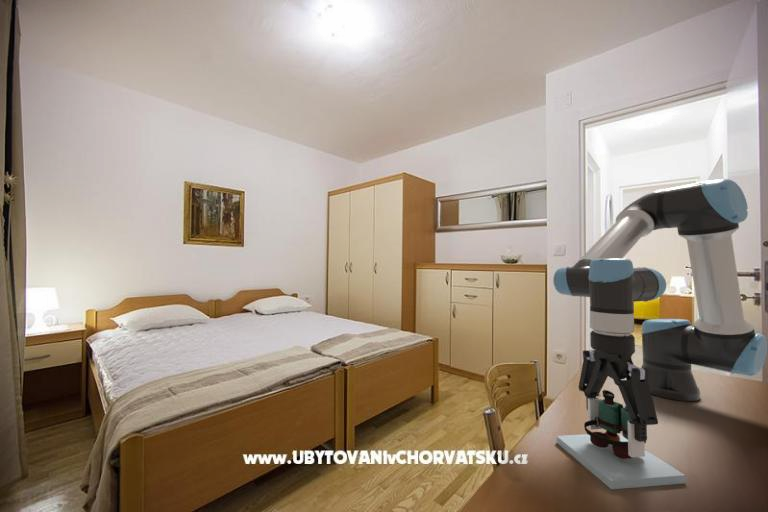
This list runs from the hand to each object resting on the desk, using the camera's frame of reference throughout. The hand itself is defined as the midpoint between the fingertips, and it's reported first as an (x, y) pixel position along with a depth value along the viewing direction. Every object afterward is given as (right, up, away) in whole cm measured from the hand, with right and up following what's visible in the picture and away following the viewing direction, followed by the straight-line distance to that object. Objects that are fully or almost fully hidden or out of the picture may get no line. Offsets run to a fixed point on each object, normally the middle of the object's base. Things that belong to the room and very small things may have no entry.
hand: (614, 440), depth 65 cm
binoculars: (0, -2, 0) cm, 2 cm away
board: (0, -4, 0) cm, 4 cm away
